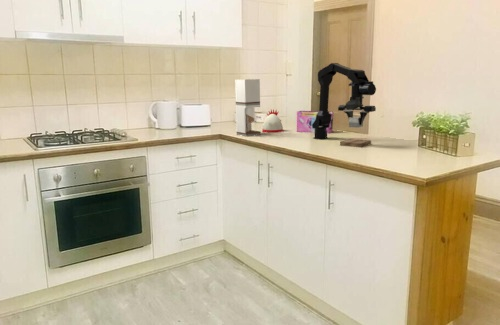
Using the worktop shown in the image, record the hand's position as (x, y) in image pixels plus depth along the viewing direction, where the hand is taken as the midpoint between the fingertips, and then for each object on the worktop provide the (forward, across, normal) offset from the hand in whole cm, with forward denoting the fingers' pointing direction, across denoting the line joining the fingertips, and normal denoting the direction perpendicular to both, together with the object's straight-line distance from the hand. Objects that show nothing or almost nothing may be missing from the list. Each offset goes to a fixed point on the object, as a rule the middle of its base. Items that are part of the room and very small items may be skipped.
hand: (356, 124), depth 217 cm
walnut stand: (+11, 0, 0) cm, 11 cm away
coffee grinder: (+11, -74, 0) cm, 75 cm away
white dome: (+11, -71, +22) cm, 75 cm away
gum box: (+11, -45, +34) cm, 57 cm away
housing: (+1, 0, 0) cm, 1 cm away
